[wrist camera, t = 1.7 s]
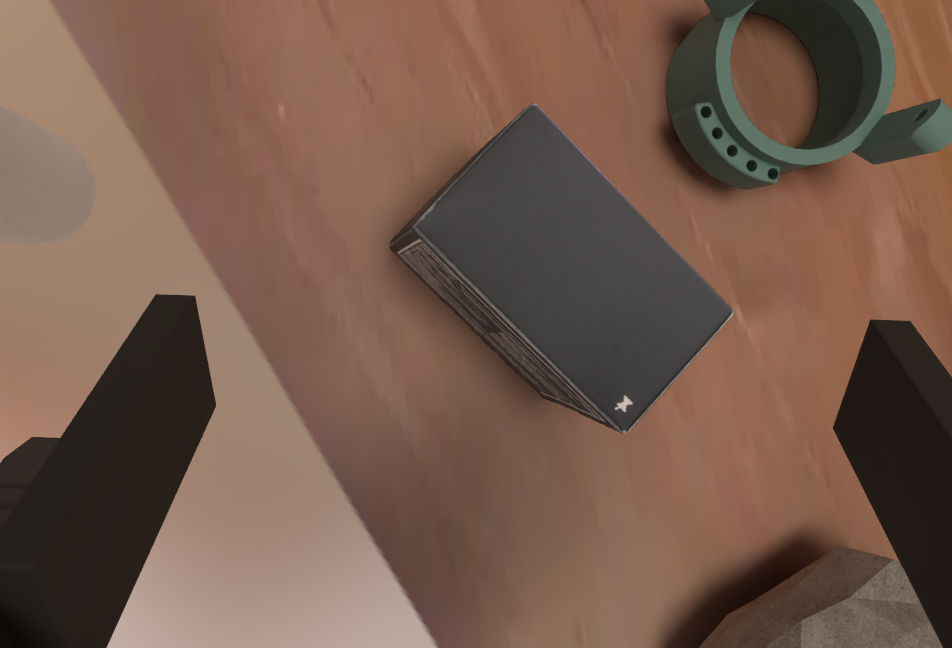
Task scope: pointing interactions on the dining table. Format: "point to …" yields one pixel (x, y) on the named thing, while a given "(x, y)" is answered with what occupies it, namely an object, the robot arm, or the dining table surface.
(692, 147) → the bracket
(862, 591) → the potted plant
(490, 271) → the small box
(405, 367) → the dining table surface
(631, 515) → the dining table surface
